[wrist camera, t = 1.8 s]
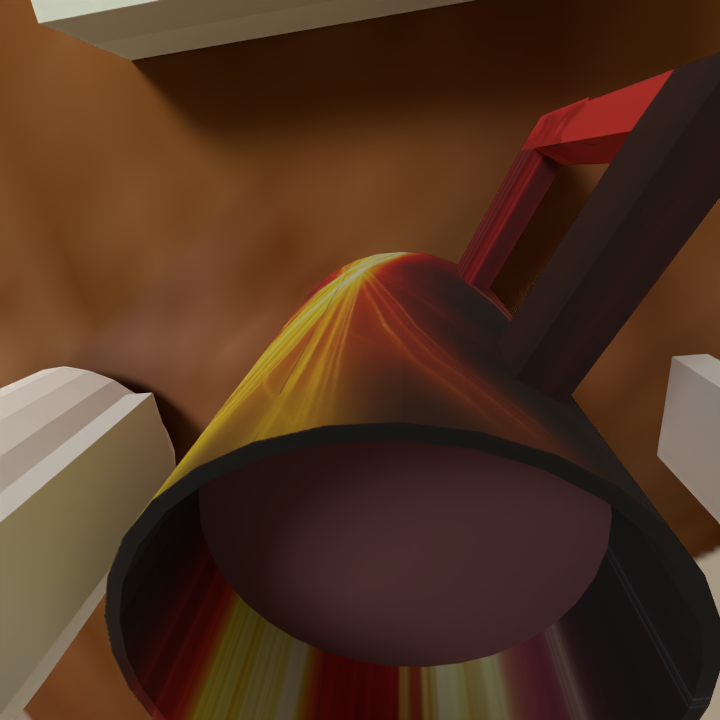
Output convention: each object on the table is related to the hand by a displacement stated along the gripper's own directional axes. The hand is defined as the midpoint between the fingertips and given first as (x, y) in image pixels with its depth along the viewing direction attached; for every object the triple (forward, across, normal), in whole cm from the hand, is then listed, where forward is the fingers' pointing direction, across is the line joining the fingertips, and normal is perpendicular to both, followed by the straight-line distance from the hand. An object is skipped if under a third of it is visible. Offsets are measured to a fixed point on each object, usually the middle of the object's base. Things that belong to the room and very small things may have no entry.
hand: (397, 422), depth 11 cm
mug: (+7, 0, +1) cm, 7 cm away
